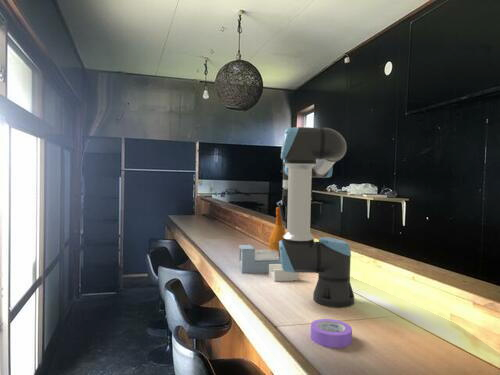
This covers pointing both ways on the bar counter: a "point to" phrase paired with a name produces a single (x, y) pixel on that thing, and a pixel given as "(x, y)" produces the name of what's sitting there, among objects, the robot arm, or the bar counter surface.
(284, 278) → the cradle
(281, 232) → the wine bottle
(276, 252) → the grey long rectangular block
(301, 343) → the bar counter surface
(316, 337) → the masking tape
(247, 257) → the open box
